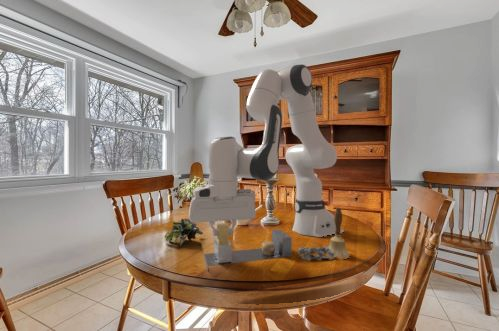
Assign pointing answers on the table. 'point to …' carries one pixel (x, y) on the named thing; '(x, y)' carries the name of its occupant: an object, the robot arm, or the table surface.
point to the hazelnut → (268, 248)
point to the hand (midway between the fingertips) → (222, 234)
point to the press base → (257, 251)
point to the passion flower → (183, 230)
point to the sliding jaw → (223, 244)
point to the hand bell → (338, 238)
